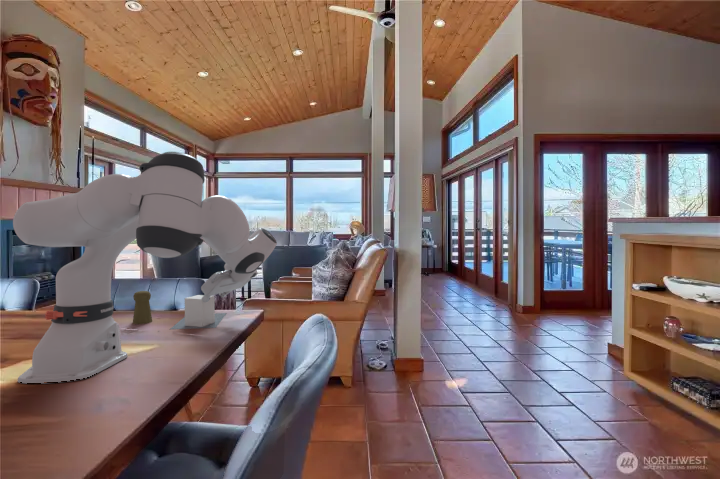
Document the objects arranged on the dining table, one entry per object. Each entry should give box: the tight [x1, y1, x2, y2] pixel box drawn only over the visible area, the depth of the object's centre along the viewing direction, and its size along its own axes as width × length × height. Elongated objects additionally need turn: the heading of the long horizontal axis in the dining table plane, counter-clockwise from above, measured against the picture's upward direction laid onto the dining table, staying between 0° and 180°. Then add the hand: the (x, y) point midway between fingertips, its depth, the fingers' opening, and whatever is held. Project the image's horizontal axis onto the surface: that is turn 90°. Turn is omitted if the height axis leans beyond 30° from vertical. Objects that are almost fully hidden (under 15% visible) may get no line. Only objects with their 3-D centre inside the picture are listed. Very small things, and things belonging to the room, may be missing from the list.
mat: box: [169, 312, 228, 330], centre depth 138 cm, size 22×14×1 cm, turn 10°
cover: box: [184, 294, 216, 327], centre depth 133 cm, size 7×7×9 cm
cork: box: [132, 290, 153, 325], centre depth 135 cm, size 6×6×11 cm
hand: (213, 298), depth 132 cm, fingers open, 8 cm apart
